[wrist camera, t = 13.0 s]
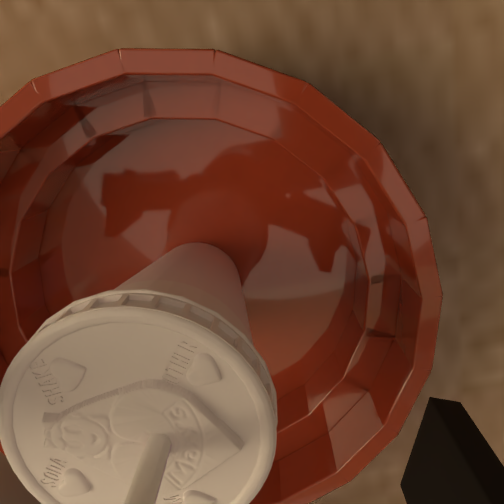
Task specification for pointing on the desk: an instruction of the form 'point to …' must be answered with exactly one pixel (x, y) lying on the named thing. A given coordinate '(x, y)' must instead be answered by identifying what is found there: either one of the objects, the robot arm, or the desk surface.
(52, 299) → the bowl
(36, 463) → the smoothie
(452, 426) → the robot arm
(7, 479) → the cylinder vase
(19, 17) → the desk surface
